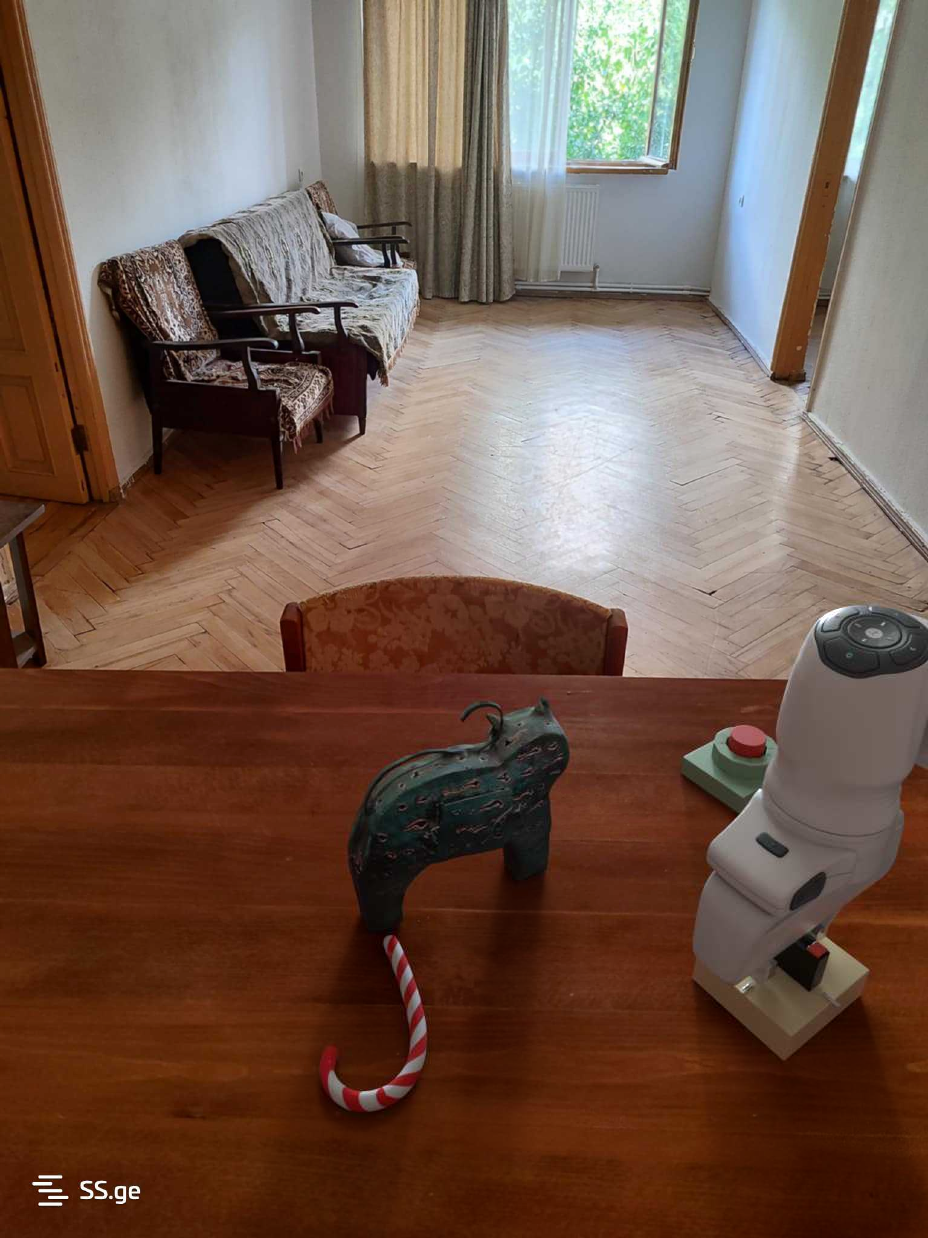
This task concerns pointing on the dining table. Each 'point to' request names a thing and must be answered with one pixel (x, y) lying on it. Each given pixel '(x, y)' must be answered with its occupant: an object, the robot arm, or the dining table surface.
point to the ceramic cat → (458, 809)
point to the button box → (728, 770)
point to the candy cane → (417, 1052)
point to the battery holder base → (789, 1000)
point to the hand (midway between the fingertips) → (784, 955)
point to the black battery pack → (804, 961)
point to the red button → (747, 741)
